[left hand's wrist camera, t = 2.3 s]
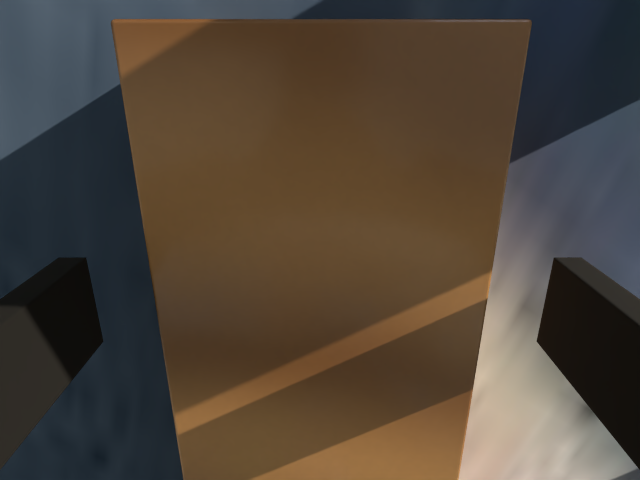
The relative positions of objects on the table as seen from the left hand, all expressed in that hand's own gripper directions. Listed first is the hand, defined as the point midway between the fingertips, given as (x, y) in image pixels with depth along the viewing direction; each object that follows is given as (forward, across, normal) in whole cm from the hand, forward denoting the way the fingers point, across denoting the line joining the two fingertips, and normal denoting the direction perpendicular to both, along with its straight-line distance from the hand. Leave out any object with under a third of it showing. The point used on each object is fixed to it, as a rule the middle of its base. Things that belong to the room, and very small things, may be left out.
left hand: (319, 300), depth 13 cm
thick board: (+7, 0, -21) cm, 22 cm away
